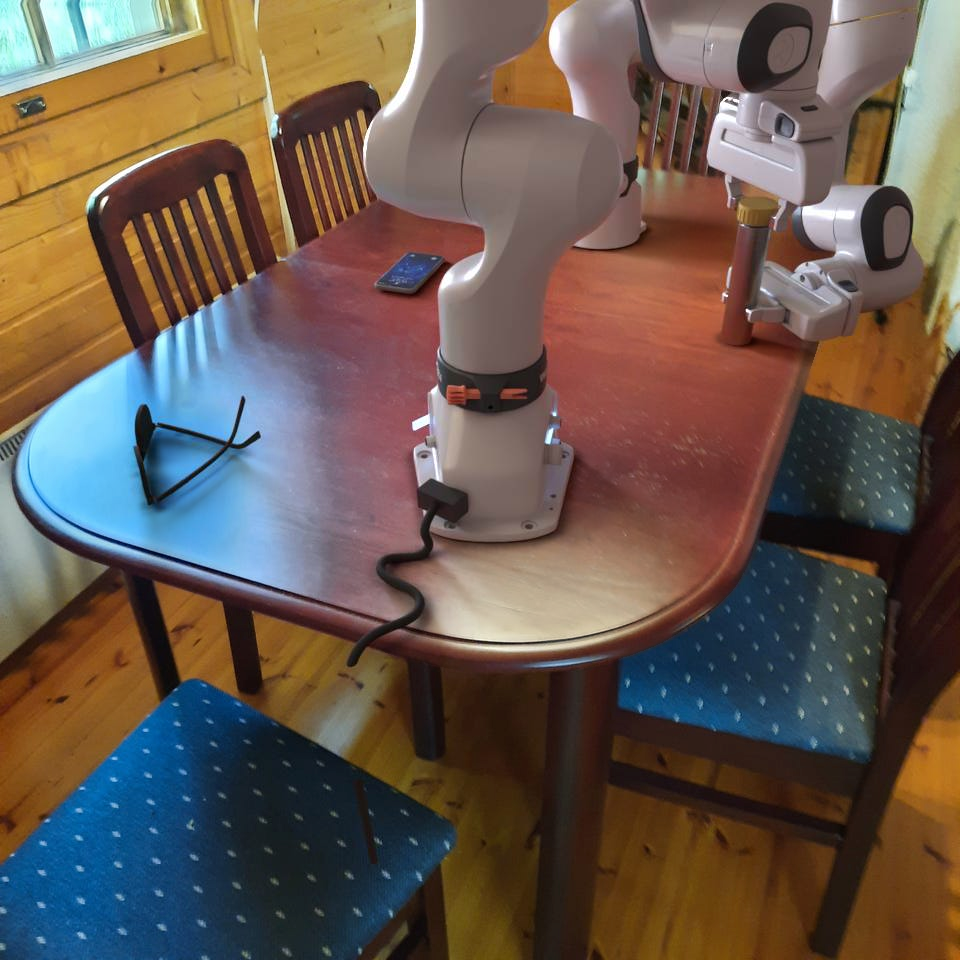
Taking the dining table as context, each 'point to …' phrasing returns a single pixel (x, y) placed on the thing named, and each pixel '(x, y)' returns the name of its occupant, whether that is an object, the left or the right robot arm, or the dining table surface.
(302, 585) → the dining table surface
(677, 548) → the dining table surface
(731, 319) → the grey metal cylinder
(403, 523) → the dining table surface
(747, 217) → the lid
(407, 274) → the smartphone
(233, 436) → the sunglasses
